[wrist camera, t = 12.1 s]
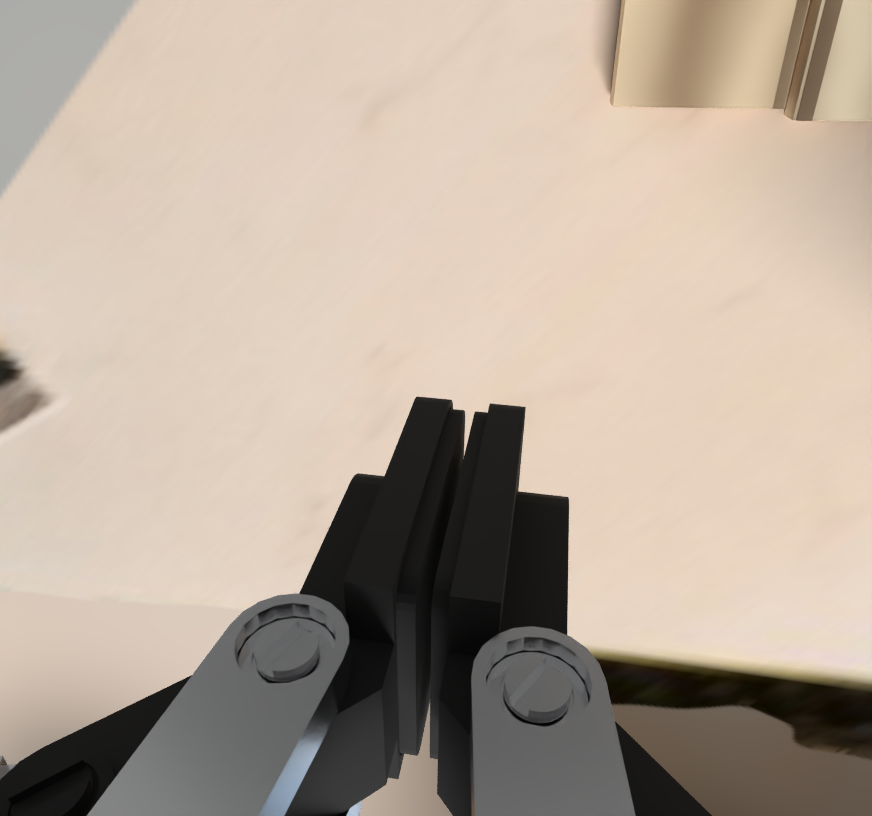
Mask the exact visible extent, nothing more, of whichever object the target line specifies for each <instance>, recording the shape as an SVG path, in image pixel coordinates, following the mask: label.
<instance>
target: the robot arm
mask: <svg viewBox="0 0 872 816" xmlns="http://www.w3.org/2000/svg"><path fill="white" fill-rule="evenodd" d="M524 420H525V407H520V406H509V405H499V404H490V406H489V410H488V413H485V412H475V414H474V418H473V422H472V426H471V430H470V435H469V439H468V443H467V447H466V451H465V455H464V432H465V411H464V410H454V409H453V403H452V400H447V399H436V398H426V397H416V398H415V400H414V403H413V405H412V408H411V410H410V413H409V416H408V418H407V421H406V423H405V426H404V428H403V431H402V433H401V436H400V438H399V441H398V444H397V446H396V449H395V451H394V454H393V456H392V459H391V461H390V464H389V466H388V469H387V471H386V474H385V476H376V475H367V474H356V475H354V477H353V479H352V480H351V482H350V484H349V486H348V489H347V491H346V493H345V495H344V497H343V500H342V502H341V504H340V506H339V508H338V510H337V513H336V515H335V517H334V519H333V521H332V524H331V526H330V528H329V530H328V532H327V534H326V537H325V539H324V541H323V543H322V545H321V548H320V550H319V552H318V554H317V556H316V558H315V561H314V563H313V565H312V567H311V569H310V572H309V574H308V576H307V578H306V580H305V582H304V585H303V587H302V589H301V591H300V593H299V594H288V595H278V596H275V597H272V598H269V599H266V600H263V601H260V602H258V603H256V604H255V605H253V606H252V607H250V608H248V609H247V610H245V611H243V612H242V613H241V614H240V615H239V616H238V617H237V618H236V620H234V621H233V622H232V623H231V624H230V626H229V627H228V628H227V630H226V631H225V632H224V634H223V635H222V636H221V638H220V639H219V640H218V642H217V643H216V644H215V646H214V647H213V648H212V650H211V651H210V652H209V654H208V655H207V656H206V658H205V659H204V660H203V662H202V663H201V664H200V666H199V667H198V668H197V670H196V671H195V672H194V674H193V675H191V676H189V677H187V678H185V679H183V680H181V681H179V682H177V683H175V684H173V685H171V686H169V687H167V688H165V689H163V690H161V691H159V692H156V693H154V694H152V695H150V696H148V697H146V698H144V699H142V700H140V701H138V702H136V703H134V704H132V705H130V706H127V707H125V708H123V709H121V710H119V711H117V712H115V713H113V714H111V715H109V716H107V717H105V718H103V719H101V720H99V721H97V722H94V723H92V724H90V725H88V726H86V727H84V728H82V729H80V730H78V731H76V732H74V733H72V734H70V735H68V736H66V737H64V738H62V739H59V740H58V741H55V742H53V743H51V744H49V745H47V746H45V747H43V748H41V749H40V750H38V751H36V752H35V753H33V754H31V755H30V756H28V757H27V758H25V759H24V760H22V761H20V762H19V763H18V764H14V765H7V763H6V761H5V759H4V757H3V756H0V816H359V813H360V810H361V806H362V800H363V799H365V798H366V797H368V796H369V795H371V794H372V793H374V792H375V791H377V790H378V789H380V788H382V787H383V786H384V785H386V783H387V779H388V777H389V778H395V779H398V778H399V774H400V769H401V765H402V760H403V756H404V754H410V755H416V756H417V755H418V753H419V750H420V746H421V741H422V737H423V732H424V727H425V721H426V717H427V712H428V707H429V703H430V758H434V759H438V784H437V787H438V788H437V794H438V795H439V797H440V798H441V799H442V801H443V802H444V804H445V805H446V806H447V808H448V809H449V811H450V812H451V813H452V815H453V816H712V815H711V814H710V813H708V812H707V811H706V810H705V809H704V808H703V807H702V806H701V805H700V804H699V803H698V802H697V801H696V800H695V799H694V798H693V797H692V796H691V795H690V794H689V793H688V792H687V791H686V790H685V789H684V788H683V787H682V786H681V785H680V784H679V783H678V782H677V781H676V780H675V779H674V778H673V777H672V776H671V775H670V774H669V773H667V771H666V770H665V769H664V768H663V767H661V766H660V765H659V764H658V763H657V762H656V761H655V760H654V759H653V758H652V757H651V756H650V755H649V754H648V753H647V752H646V751H645V750H644V749H643V748H642V747H641V746H640V745H639V744H638V743H637V742H636V741H635V740H634V739H633V738H632V737H631V736H630V735H629V734H628V733H627V732H626V731H625V730H624V729H623V728H622V727H621V726H619V725H618V724H617V723H616V722H615V720H614V715H613V711H612V706H611V702H610V697H609V693H608V688H607V684H606V680H605V677H604V675H603V672H602V670H601V667H600V665H599V663H598V662H597V660H596V659H595V658H594V657H593V656H592V654H591V653H590V652H589V651H588V649H587V648H586V647H584V646H583V645H581V644H580V643H579V642H577V641H576V640H574V639H573V638H572V637H570V636H568V635H567V604H568V533H569V499H568V497H562V496H553V495H544V494H535V493H526V492H518V487H519V475H520V464H521V453H522V442H523V431H524ZM463 459H464V460H463Z"/></svg>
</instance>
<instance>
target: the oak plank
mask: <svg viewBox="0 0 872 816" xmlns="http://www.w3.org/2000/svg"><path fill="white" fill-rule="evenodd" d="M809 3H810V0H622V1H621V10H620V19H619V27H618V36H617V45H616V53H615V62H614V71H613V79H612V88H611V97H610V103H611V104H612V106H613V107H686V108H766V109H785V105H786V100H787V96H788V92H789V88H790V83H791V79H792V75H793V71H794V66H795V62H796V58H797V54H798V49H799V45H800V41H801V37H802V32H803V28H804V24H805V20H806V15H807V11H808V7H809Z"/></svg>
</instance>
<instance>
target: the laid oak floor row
mask: <svg viewBox="0 0 872 816" xmlns="http://www.w3.org/2000/svg"><path fill="white" fill-rule="evenodd" d="M784 115H785V116H787V117H788V118H790V119H792V120H797V121H858V122H872V0H811V3H810V7H809V12H808V16H807V20H806V24H805V29H804V33H803V37H802V41H801V45H800V50H799V54H798V58H797V62H796V67H795V71H794V75H793V79H792V84H791V88H790V92H789V96H788V100H787V105H786V109H785V113H784Z"/></svg>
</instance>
